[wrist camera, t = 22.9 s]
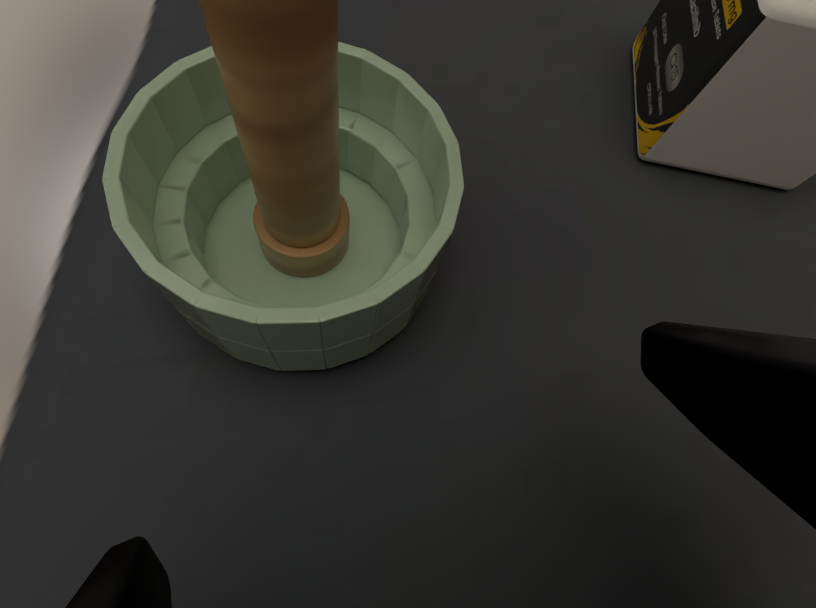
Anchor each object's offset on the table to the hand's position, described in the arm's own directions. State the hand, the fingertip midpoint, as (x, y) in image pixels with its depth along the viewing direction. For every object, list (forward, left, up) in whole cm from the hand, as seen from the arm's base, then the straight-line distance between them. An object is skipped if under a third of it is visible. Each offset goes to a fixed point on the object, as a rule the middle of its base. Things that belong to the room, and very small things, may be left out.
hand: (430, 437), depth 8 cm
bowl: (+7, +3, -7) cm, 11 cm away
